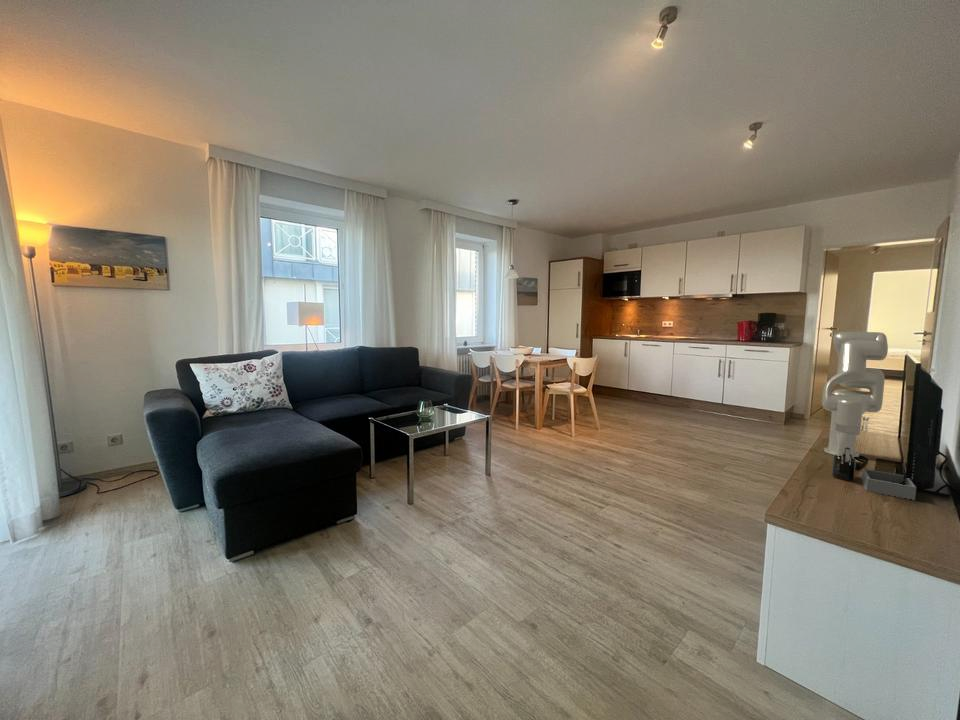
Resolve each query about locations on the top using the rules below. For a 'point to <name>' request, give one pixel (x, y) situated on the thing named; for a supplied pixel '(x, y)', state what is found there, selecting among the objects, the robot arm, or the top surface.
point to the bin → (888, 484)
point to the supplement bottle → (837, 466)
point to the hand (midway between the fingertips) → (843, 470)
